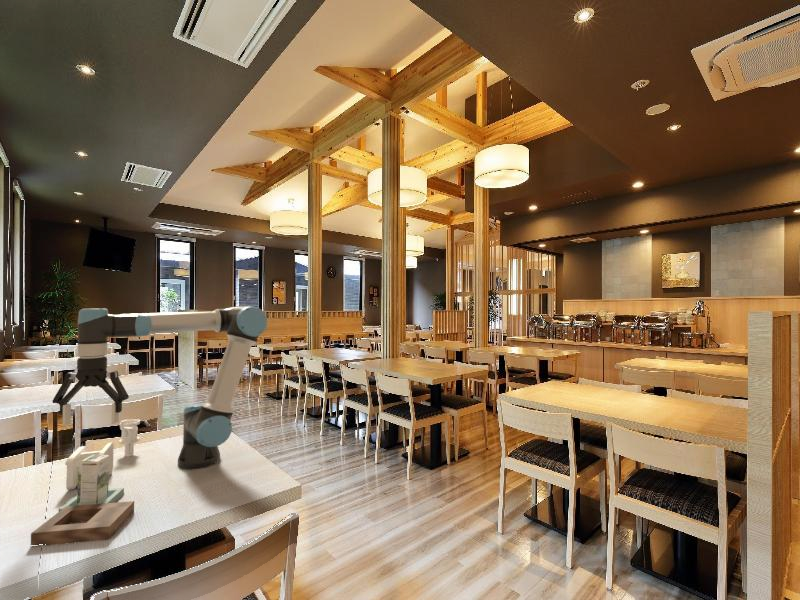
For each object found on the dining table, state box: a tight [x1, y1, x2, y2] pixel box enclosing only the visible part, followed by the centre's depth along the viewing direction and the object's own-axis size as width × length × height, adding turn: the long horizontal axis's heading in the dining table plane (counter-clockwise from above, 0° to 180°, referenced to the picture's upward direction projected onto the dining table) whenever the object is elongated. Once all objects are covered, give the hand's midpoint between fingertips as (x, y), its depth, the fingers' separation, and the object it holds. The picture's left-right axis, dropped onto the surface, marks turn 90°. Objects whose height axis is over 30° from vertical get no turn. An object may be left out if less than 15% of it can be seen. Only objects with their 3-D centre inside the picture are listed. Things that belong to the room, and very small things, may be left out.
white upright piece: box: [118, 419, 141, 457], centre depth 165 cm, size 7×7×15 cm
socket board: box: [30, 500, 135, 546], centre depth 110 cm, size 18×14×4 cm
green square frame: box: [58, 487, 125, 512], centre depth 124 cm, size 12×12×2 cm
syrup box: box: [76, 455, 110, 505], centre depth 124 cm, size 6×6×14 cm
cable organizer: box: [64, 441, 114, 491], centre depth 140 cm, size 15×11×12 cm
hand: (91, 424), depth 125 cm, fingers open, 13 cm apart
